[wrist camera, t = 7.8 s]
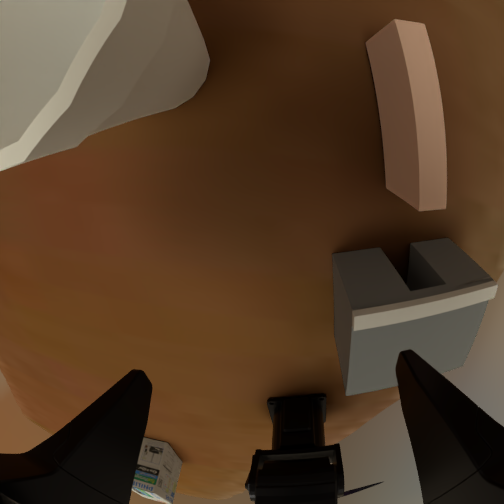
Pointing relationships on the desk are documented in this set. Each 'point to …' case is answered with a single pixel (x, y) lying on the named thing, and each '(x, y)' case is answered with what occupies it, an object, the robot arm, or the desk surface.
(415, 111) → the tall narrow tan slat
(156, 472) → the light bulb box
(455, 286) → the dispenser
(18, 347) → the desk surface
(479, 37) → the desk surface
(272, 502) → the robot arm
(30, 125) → the foam cup
